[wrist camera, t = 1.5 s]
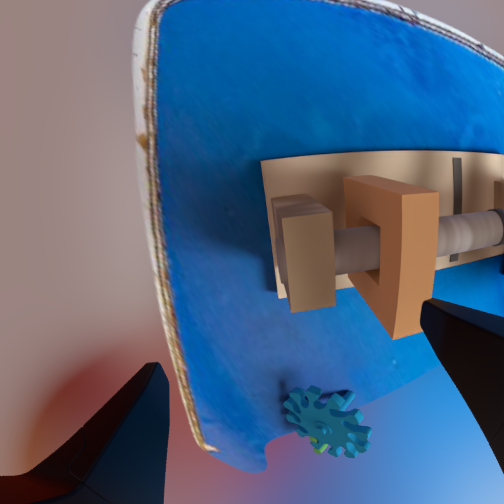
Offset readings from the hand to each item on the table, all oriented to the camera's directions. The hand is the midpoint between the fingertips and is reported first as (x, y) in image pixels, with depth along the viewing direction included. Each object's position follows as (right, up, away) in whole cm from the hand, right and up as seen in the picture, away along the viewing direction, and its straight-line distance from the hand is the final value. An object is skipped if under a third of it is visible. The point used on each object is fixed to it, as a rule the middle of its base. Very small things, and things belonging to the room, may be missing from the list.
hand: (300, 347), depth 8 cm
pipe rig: (+12, +6, +12) cm, 18 cm away
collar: (+6, +5, +10) cm, 12 cm away
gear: (+6, -13, +19) cm, 23 cm away
